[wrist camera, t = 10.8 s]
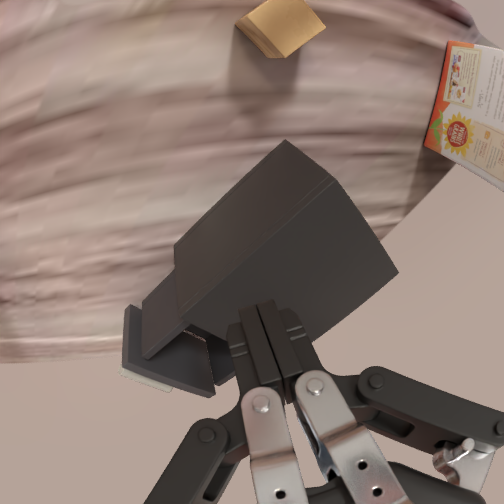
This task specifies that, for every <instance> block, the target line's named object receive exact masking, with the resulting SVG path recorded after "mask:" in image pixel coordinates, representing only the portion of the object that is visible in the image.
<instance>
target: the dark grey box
mask: <svg viewBox="0 0 504 504" xmlns="http://www.w3.org/2000/svg"><path fill="white" fill-rule="evenodd" d="M174 258H175V273H176V286H177V297H178V308H179V317H180V318H182V319H184V320H186V321H187V322H189V323H191V324H193V325H195V326H197V327H199V328H201V329H203V330H205V331H207V332H209V333H211V334H213V335H215V336H217V337H219V338H221V339H223V340H225V341H227V339H226V334H227V330H228V325H231V324H234V323H238V322H241V320H240V316H239V313H238V309H240V308H243V307H247V306H250V305H254V304H255V306H256V304H257V303H261V302H264V301H268V300H271V299H273V300H274V302H275V304H276V306H277V309H278V311H280V310H283V309H286V308H290V309H291V310H292V311H294V312H295V313H296V314H297V315H298V316H299V318H300V320H301V322H302V324H303V327H304V329H305V331H306V333H307V336H308V337H309V339H310V341H311V343H312V342H313V341H315V340H316V339H317V338H319V337H320V336H322V335H323V334H324V333H325V332H327V331H328V330H330V329H331V328H332V327H333V326H335V325H336V324H337V323H339V322H340V321H341V320H343V319H344V318H345V317H346V316H348V315H349V314H350V313H351V312H353V311H354V310H355V309H357V308H358V307H359V306H360V305H362V304H363V303H364V302H365V301H367V299H369V298H370V297H371V296H373V295H374V294H375V293H376V292H377V291H379V290H380V289H381V288H382V287H383V286H384V285H386V284H387V283H388V282H389V281H390V280H391V279H393V278H394V277H395V276H396V275H397V274H398V273H399V272H398V270H397V268H396V267H395V265H394V264H393V262H392V260H391V259H390V257H389V256H388V254H387V252H386V251H385V249H384V248H383V246H382V245H381V243H380V241H379V240H378V238H377V237H376V235H375V234H374V232H373V231H372V229H371V228H370V226H369V225H368V223H367V222H366V220H365V219H364V217H363V216H362V214H361V213H360V212H359V210H358V209H357V207H356V206H355V204H354V203H353V202H352V200H351V199H350V197H349V196H348V195H347V193H346V192H345V190H344V189H343V188H342V186H341V185H340V184H339V182H338V181H337V180H336V179H335V178H334V177H333V176H332V175H331V174H329V173H328V172H327V171H326V170H324V169H323V168H322V167H321V166H319V165H318V164H317V163H316V162H314V161H313V160H312V159H311V158H309V157H308V156H307V155H305V154H304V153H303V152H302V151H300V150H299V149H298V148H296V147H295V146H294V145H292V144H291V143H290V142H288V141H287V140H286V139H285V140H284V141H283V142H282V143H280V144H279V145H278V146H277V147H276V148H275V149H274V150H273V151H271V152H270V153H269V154H268V155H267V156H266V157H265V158H264V159H263V160H262V161H260V162H259V163H258V164H257V165H256V166H255V167H254V168H253V169H252V170H251V171H250V172H249V173H247V174H246V175H245V176H244V177H243V178H242V179H241V180H240V181H239V182H238V183H237V184H236V185H235V186H234V187H233V188H232V189H230V190H229V191H228V192H227V193H226V194H225V195H224V196H223V197H222V198H221V199H220V200H219V201H218V202H217V203H216V204H215V205H214V206H213V207H212V208H211V209H210V210H209V211H208V212H207V213H206V214H205V215H204V216H203V217H202V218H201V219H200V220H199V221H198V222H197V223H196V224H195V225H194V226H193V227H192V228H191V229H190V230H189V231H188V232H187V233H186V234H185V235H184V236H183V237H182V238H181V239H180V240H179V241H178V242H177V243H176V244H175V245H174ZM256 309H257V308H256Z"/></svg>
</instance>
